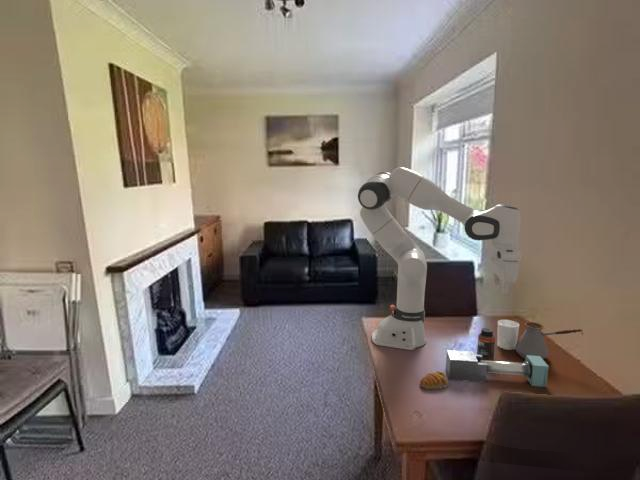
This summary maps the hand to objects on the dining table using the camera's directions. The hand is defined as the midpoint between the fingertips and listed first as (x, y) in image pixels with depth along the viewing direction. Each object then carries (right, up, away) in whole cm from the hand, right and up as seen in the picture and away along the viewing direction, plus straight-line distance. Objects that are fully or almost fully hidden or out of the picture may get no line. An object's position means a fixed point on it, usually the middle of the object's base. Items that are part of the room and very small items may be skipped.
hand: (500, 288), depth 142 cm
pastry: (-26, -32, -9) cm, 42 cm away
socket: (+9, -31, -7) cm, 33 cm away
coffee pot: (+20, -28, +8) cm, 36 cm away
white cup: (+11, -26, +19) cm, 34 cm away
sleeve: (-13, -30, -3) cm, 33 cm away
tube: (0, -29, -6) cm, 30 cm away
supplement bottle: (-1, -28, +10) cm, 30 cm away
